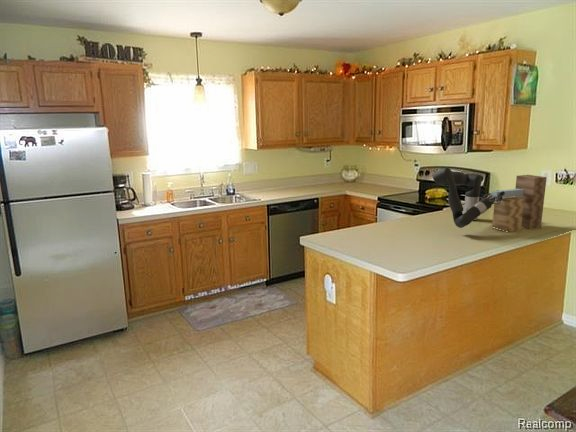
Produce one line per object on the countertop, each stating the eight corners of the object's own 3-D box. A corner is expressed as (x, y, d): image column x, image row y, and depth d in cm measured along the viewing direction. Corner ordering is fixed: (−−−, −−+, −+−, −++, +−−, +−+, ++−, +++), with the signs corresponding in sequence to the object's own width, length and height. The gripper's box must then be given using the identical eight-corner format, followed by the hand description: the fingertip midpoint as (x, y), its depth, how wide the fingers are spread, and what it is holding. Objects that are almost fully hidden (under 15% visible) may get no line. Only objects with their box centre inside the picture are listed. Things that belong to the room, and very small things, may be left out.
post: (529, 229, 275) (534, 178, 267) (511, 224, 288) (516, 175, 280) (540, 228, 278) (546, 177, 270) (522, 223, 291) (528, 174, 283)
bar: (496, 198, 266) (497, 191, 265) (491, 197, 270) (492, 191, 269) (522, 195, 273) (523, 189, 272) (517, 194, 277) (518, 188, 276)
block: (506, 232, 270) (509, 200, 265) (492, 227, 281) (494, 197, 276) (520, 230, 274) (524, 198, 269) (506, 226, 285) (509, 195, 280)
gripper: (488, 203, 259) (508, 188, 261) (471, 200, 272) (490, 185, 274) (492, 213, 261) (511, 198, 264) (475, 209, 274) (494, 194, 277)
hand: (501, 191), depth 269 cm, fingers closed on bar, 4 cm apart
